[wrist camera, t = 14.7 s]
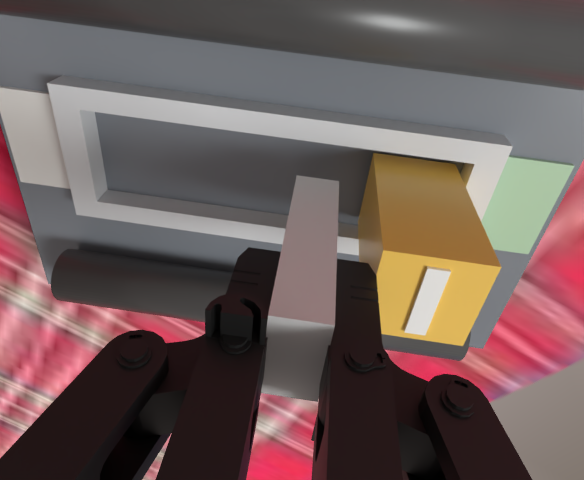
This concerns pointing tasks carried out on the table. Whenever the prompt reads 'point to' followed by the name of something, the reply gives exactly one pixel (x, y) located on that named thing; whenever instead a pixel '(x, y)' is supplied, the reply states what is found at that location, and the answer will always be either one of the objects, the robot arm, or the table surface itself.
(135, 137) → the panel
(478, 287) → the lever
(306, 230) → the robot arm
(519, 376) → the table surface
